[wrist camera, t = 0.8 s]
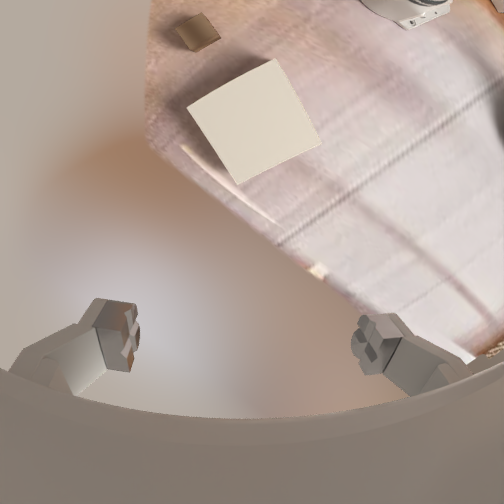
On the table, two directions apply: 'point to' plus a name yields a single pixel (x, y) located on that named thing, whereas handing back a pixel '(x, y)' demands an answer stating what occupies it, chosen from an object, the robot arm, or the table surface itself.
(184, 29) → the walnut cube
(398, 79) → the table surface
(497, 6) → the medicine bottle
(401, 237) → the table surface
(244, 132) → the plate
